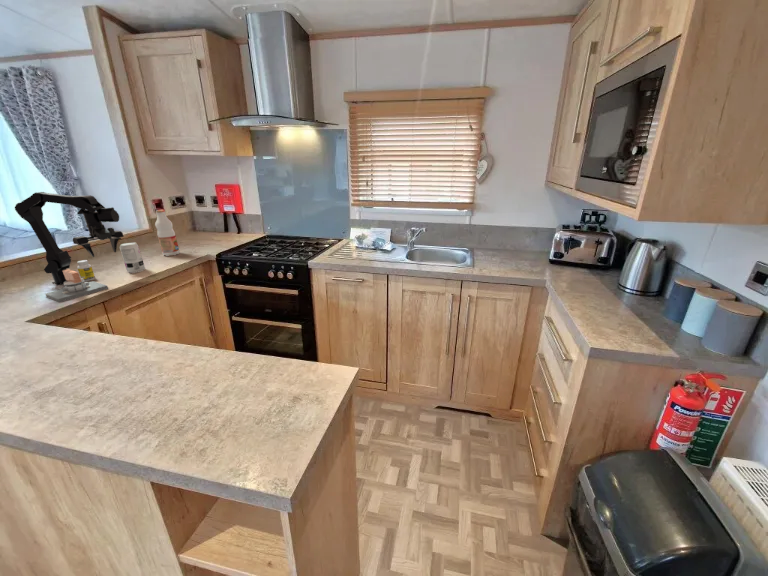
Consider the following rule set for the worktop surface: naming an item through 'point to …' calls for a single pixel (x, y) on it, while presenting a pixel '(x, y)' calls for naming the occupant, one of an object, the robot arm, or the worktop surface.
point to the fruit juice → (166, 234)
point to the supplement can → (132, 257)
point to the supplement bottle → (85, 270)
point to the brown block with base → (73, 281)
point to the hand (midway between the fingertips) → (104, 254)
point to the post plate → (76, 292)
